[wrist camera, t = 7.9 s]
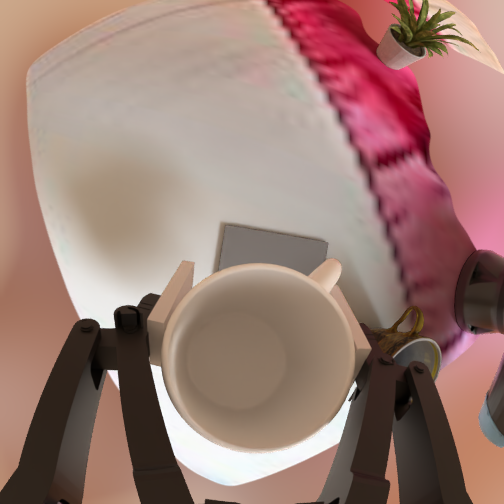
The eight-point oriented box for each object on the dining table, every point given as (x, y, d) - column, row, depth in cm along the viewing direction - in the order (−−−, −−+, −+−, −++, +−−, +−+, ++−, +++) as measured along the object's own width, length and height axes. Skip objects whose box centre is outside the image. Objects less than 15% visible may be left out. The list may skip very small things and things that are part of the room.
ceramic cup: (389, 376, 34) (427, 406, 24) (331, 384, 33) (363, 424, 23) (406, 293, 34) (455, 308, 24) (347, 293, 33) (391, 312, 23)
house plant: (426, 57, 33) (477, 20, 17) (426, 108, 33) (494, 72, 17) (362, 18, 31) (404, -35, 15) (354, 64, 31) (410, 1, 15)
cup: (159, 361, 19) (119, 357, 9) (263, 257, 23) (302, 185, 14) (241, 433, 17) (272, 485, 8) (335, 322, 22) (414, 288, 13)
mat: (294, 392, 33) (296, 394, 32) (203, 385, 31) (203, 387, 31) (326, 242, 32) (328, 242, 31) (225, 225, 31) (225, 224, 30)
